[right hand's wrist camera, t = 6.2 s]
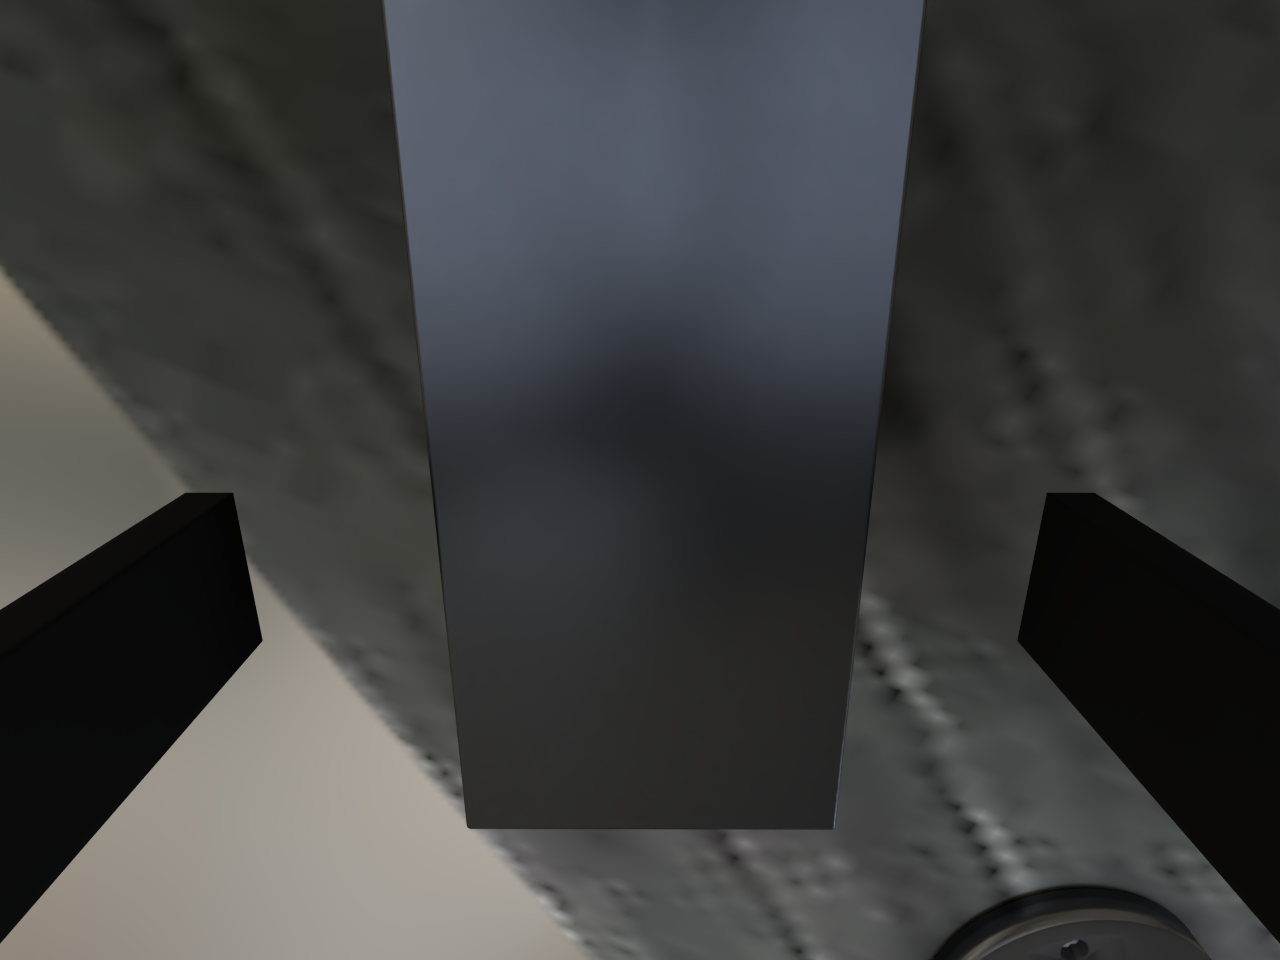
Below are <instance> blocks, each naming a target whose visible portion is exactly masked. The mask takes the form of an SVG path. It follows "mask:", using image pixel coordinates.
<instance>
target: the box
mask: <svg viewBox="0 0 1280 960" xmlns="http://www.w3.org/2000/svg"><path fill="white" fill-rule="evenodd" d="M926 6H927V0H381V7H382V17H383V26H384V36H385V45H386V55H387V64H388V74H389V84H390V93H391V103H392V112H393V122H394V132H395V141H396V151H397V160H398V170H399V180H400V189H401V199H402V208H403V218H404V228H405V237H406V247H407V256H408V266H409V275H410V285H411V295H412V304H413V314H414V323H415V333H416V343H417V352H418V362H419V371H420V381H421V391H422V400H423V410H424V419H425V429H426V439H427V448H428V458H429V467H430V477H431V486H432V496H433V506H434V515H435V525H436V534H437V544H438V554H439V563H440V573H441V582H442V592H443V602H444V611H445V621H446V630H447V640H448V650H449V659H450V669H451V678H452V688H453V697H454V707H455V717H456V726H457V736H458V745H459V755H460V765H461V774H462V784H463V793H464V803H465V813H466V822H467V827H468V828H470V829H834V828H835V822H836V813H837V804H838V795H839V786H840V777H841V768H842V759H843V750H844V741H845V732H846V724H847V715H848V706H849V697H850V688H851V679H852V670H853V661H854V652H855V643H856V634H857V625H858V616H859V607H860V598H861V589H862V580H863V571H864V562H865V553H866V544H867V535H868V526H869V517H870V508H871V499H872V490H873V481H874V472H875V463H876V454H877V445H878V436H879V428H880V419H881V410H882V401H883V392H884V383H885V374H886V365H887V356H888V347H889V338H890V329H891V320H892V311H893V302H894V293H895V284H896V275H897V266H898V257H899V248H900V239H901V230H902V221H903V212H904V203H905V194H906V185H907V176H908V167H909V158H910V149H911V140H912V131H913V123H914V114H915V105H916V96H917V87H918V78H919V69H920V60H921V51H922V42H923V33H924V24H925V15H926Z"/></svg>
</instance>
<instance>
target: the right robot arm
mask: <svg viewBox="0 0 1280 960" xmlns="http://www.w3.org/2000/svg"><path fill="white" fill-rule="evenodd" d="M1017 641H1018V642H1019V643H1020V644H1021V646H1022V647H1023V648H1024V649H1025V650H1026V651H1027V652H1028V654H1029V655H1030V656H1031V657H1032V658H1033V659H1034V661H1035V662H1036V663H1037V664H1038V665H1039V666H1040V667H1041V669H1042V670H1043V671H1044V672H1045V673H1046V674H1047V676H1048V677H1049V678H1050V679H1051V680H1052V681H1053V682H1054V684H1055V685H1056V686H1057V687H1058V688H1059V689H1060V691H1061V692H1062V693H1063V694H1064V695H1065V696H1066V697H1067V699H1068V700H1069V701H1070V702H1071V703H1072V704H1073V706H1074V707H1075V708H1076V709H1077V710H1078V711H1079V712H1080V714H1081V715H1082V716H1083V717H1084V718H1085V719H1086V720H1087V722H1088V723H1089V724H1090V725H1091V726H1092V727H1093V729H1094V730H1095V731H1096V732H1097V733H1098V734H1099V735H1100V737H1101V738H1102V739H1103V740H1104V741H1105V742H1106V744H1107V745H1108V746H1109V747H1110V748H1111V749H1112V750H1113V752H1114V753H1115V754H1116V755H1117V756H1118V757H1119V759H1120V760H1121V761H1122V762H1123V763H1124V764H1125V765H1126V767H1127V768H1128V769H1129V770H1130V771H1131V772H1132V774H1133V775H1134V776H1135V777H1136V778H1137V779H1138V780H1139V782H1140V783H1141V784H1142V785H1143V786H1144V787H1145V789H1146V790H1147V791H1148V792H1149V793H1150V794H1151V795H1152V797H1153V798H1154V799H1155V800H1156V801H1157V802H1158V804H1159V805H1160V806H1161V807H1162V808H1163V809H1164V810H1165V812H1166V813H1167V814H1168V815H1169V816H1170V817H1171V819H1172V820H1173V821H1174V822H1175V823H1176V824H1177V825H1178V827H1179V828H1180V829H1181V830H1182V831H1183V832H1184V834H1185V835H1186V836H1187V837H1188V838H1189V839H1190V840H1191V842H1192V843H1193V844H1194V845H1195V846H1196V847H1197V849H1198V850H1199V851H1200V852H1201V853H1202V854H1203V855H1204V857H1205V858H1206V859H1207V860H1208V861H1209V862H1210V864H1211V865H1212V866H1213V867H1214V868H1215V869H1216V870H1217V872H1218V873H1219V874H1220V875H1221V876H1222V877H1223V879H1224V880H1225V881H1226V882H1227V883H1228V884H1229V885H1230V887H1231V888H1232V889H1233V890H1234V891H1235V892H1236V894H1237V895H1238V896H1239V897H1240V898H1241V899H1242V900H1243V902H1244V903H1245V904H1246V905H1247V906H1248V907H1249V908H1250V910H1251V911H1252V912H1253V913H1254V914H1255V915H1256V917H1257V918H1258V919H1259V920H1260V921H1261V922H1262V923H1263V925H1264V926H1265V927H1266V928H1267V929H1268V930H1269V932H1270V933H1271V934H1272V935H1273V936H1274V937H1275V938H1276V940H1277V941H1278V942H1279V943H1280V610H1279V609H1277V608H1276V607H1274V606H1273V605H1271V604H1270V603H1268V602H1266V601H1265V600H1263V599H1262V598H1260V597H1258V596H1257V595H1255V594H1254V593H1252V592H1251V591H1249V590H1247V589H1246V588H1244V587H1243V586H1241V585H1239V584H1238V583H1236V582H1235V581H1233V580H1232V579H1230V578H1228V577H1227V576H1225V575H1224V574H1222V573H1221V572H1219V571H1217V570H1216V569H1214V568H1213V567H1211V566H1209V565H1208V564H1206V563H1205V562H1203V561H1202V560H1200V559H1198V558H1197V557H1195V556H1194V555H1192V554H1190V553H1189V552H1187V551H1186V550H1184V549H1183V548H1181V547H1179V546H1178V545H1176V544H1175V543H1173V542H1171V541H1170V540H1168V539H1167V538H1165V537H1164V536H1162V535H1160V534H1159V533H1157V532H1156V531H1154V530H1152V529H1151V528H1149V527H1148V526H1146V525H1145V524H1143V523H1141V522H1140V521H1138V520H1137V519H1135V518H1134V517H1132V516H1130V515H1129V514H1127V513H1126V512H1124V511H1122V510H1121V509H1119V508H1118V507H1116V506H1115V505H1113V504H1111V503H1110V502H1108V501H1107V500H1105V499H1103V498H1102V497H1100V496H1099V495H1097V494H1096V493H1047V495H1046V500H1045V505H1044V510H1043V515H1042V520H1041V525H1040V530H1039V535H1038V540H1037V545H1036V550H1035V555H1034V560H1033V565H1032V570H1031V575H1030V580H1029V585H1028V590H1027V595H1026V600H1025V605H1024V610H1023V615H1022V620H1021V625H1020V630H1019V635H1018V640H1017ZM261 642H262V635H261V630H260V625H259V620H258V615H257V610H256V605H255V600H254V595H253V590H252V585H251V580H250V575H249V570H248V565H247V560H246V555H245V550H244V545H243V540H242V535H241V530H240V525H239V520H238V515H237V510H236V505H235V500H234V495H233V493H184V494H183V495H181V496H180V497H178V498H177V499H175V500H173V501H172V502H170V503H169V504H167V505H165V506H164V507H162V508H161V509H159V510H158V511H156V512H154V513H153V514H151V515H150V516H148V517H146V518H145V519H143V520H142V521H140V522H139V523H137V524H135V525H134V526H132V527H131V528H129V529H128V530H126V531H124V532H123V533H121V534H120V535H118V536H116V537H115V538H113V539H112V540H110V541H109V542H107V543H105V544H104V545H102V546H101V547H99V548H98V549H96V550H94V551H93V552H91V553H90V554H88V555H86V556H85V557H83V558H82V559H80V560H78V561H77V562H75V563H74V564H72V565H71V566H69V567H67V568H66V569H64V570H63V571H61V572H60V573H58V574H56V575H55V576H53V577H52V578H50V579H48V580H47V581H45V582H44V583H42V584H41V585H39V586H37V587H36V588H34V589H33V590H31V591H30V592H28V593H26V594H25V595H23V596H22V597H20V598H18V599H17V600H15V601H14V602H12V603H10V604H9V605H7V606H6V607H4V608H3V609H1V610H0V943H1V942H2V941H3V940H4V938H5V937H6V936H7V935H8V934H9V933H10V932H11V930H12V929H13V928H14V927H15V926H16V925H17V923H18V922H19V921H20V920H21V919H22V918H23V916H24V915H25V914H26V913H27V912H28V911H29V910H30V908H31V907H32V906H33V905H34V904H35V903H36V902H37V900H38V899H39V898H40V897H41V896H42V895H43V893H44V892H45V891H46V890H47V889H48V888H49V887H50V885H51V884H52V883H53V882H54V881H55V880H56V879H57V877H58V876H59V875H60V874H61V873H62V872H63V870H64V869H65V868H66V867H67V866H68V865H69V864H70V862H71V861H72V860H73V859H74V858H75V857H76V855H77V854H78V853H79V852H80V851H81V850H82V849H83V847H84V846H85V845H86V844H87V843H88V842H89V840H90V839H91V838H92V837H93V836H94V835H95V834H96V832H97V831H98V830H99V829H100V828H101V827H102V825H103V824H104V823H105V822H106V821H107V820H108V819H109V817H110V816H111V815H112V814H113V813H114V812H115V810H116V809H117V808H118V807H119V806H120V805H121V803H122V802H123V801H124V800H125V799H126V798H127V797H128V795H129V794H130V793H131V792H132V791H133V790H134V789H135V787H136V786H137V785H138V784H139V783H140V782H141V780H142V779H143V778H144V777H145V776H146V775H147V774H148V772H149V771H150V770H151V769H152V768H153V767H154V765H155V764H156V763H157V762H158V761H159V760H160V759H161V757H162V756H163V755H164V754H165V753H166V752H167V750H168V749H169V748H170V747H171V746H172V745H173V744H174V742H175V741H176V740H177V739H178V738H179V737H180V735H181V734H182V733H183V732H184V731H185V730H186V729H187V727H188V726H189V725H190V724H191V723H192V722H193V720H194V719H195V718H196V717H197V716H198V715H199V714H200V712H201V711H202V710H203V709H204V708H205V707H206V706H207V704H208V703H209V702H210V701H211V700H212V699H213V697H214V696H215V695H216V694H217V693H218V692H219V690H220V689H221V688H222V687H223V686H224V685H225V684H226V682H227V681H228V680H229V679H230V678H231V677H232V676H233V674H234V673H235V672H236V671H237V670H238V669H239V667H240V666H241V665H242V664H243V663H244V662H245V661H246V659H247V658H248V657H249V656H250V655H251V654H252V652H253V651H254V650H255V649H256V648H257V647H258V646H259V644H260V643H261ZM934 960H1211V958H1210V957H1209V956H1208V955H1207V953H1206V952H1205V951H1204V949H1203V948H1202V947H1201V945H1200V944H1199V943H1198V941H1197V940H1196V939H1195V937H1194V936H1193V935H1192V934H1191V932H1190V931H1189V930H1188V929H1187V927H1186V926H1185V925H1184V924H1183V923H1182V922H1181V921H1180V920H1179V919H1178V918H1177V917H1176V916H1175V915H1173V914H1172V913H1171V912H1169V911H1168V910H1167V909H1165V908H1163V907H1161V906H1160V905H1158V904H1156V903H1154V902H1152V901H1149V900H1147V899H1145V898H1142V897H1139V896H1136V895H1133V894H1128V893H1124V892H1120V891H1113V890H1106V889H1067V890H1058V891H1052V892H1046V893H1042V894H1037V895H1033V896H1030V897H1026V898H1023V899H1020V900H1017V901H1014V902H1011V903H1009V904H1006V905H1004V906H1002V907H999V908H997V909H995V910H993V911H991V912H989V913H987V914H986V915H984V916H982V917H980V918H979V919H977V920H976V921H974V922H973V923H971V924H970V925H968V926H967V927H965V928H964V929H963V930H962V931H960V932H959V933H958V934H957V935H956V936H955V937H954V938H952V939H951V940H950V941H949V942H948V943H947V944H946V945H945V947H944V948H943V949H942V950H941V951H940V952H939V954H938V955H937V956H936V958H935V959H934Z"/></svg>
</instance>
